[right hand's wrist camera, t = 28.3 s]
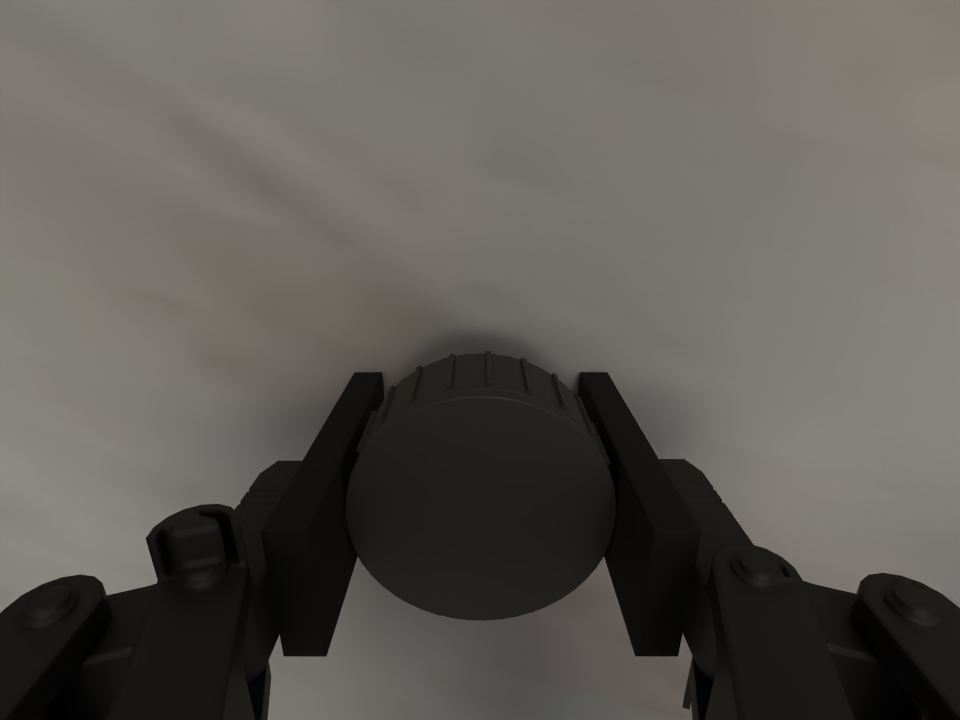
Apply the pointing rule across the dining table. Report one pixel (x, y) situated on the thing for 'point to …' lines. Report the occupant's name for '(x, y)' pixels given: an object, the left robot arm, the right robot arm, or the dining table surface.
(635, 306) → the dining table surface
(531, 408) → the lid
